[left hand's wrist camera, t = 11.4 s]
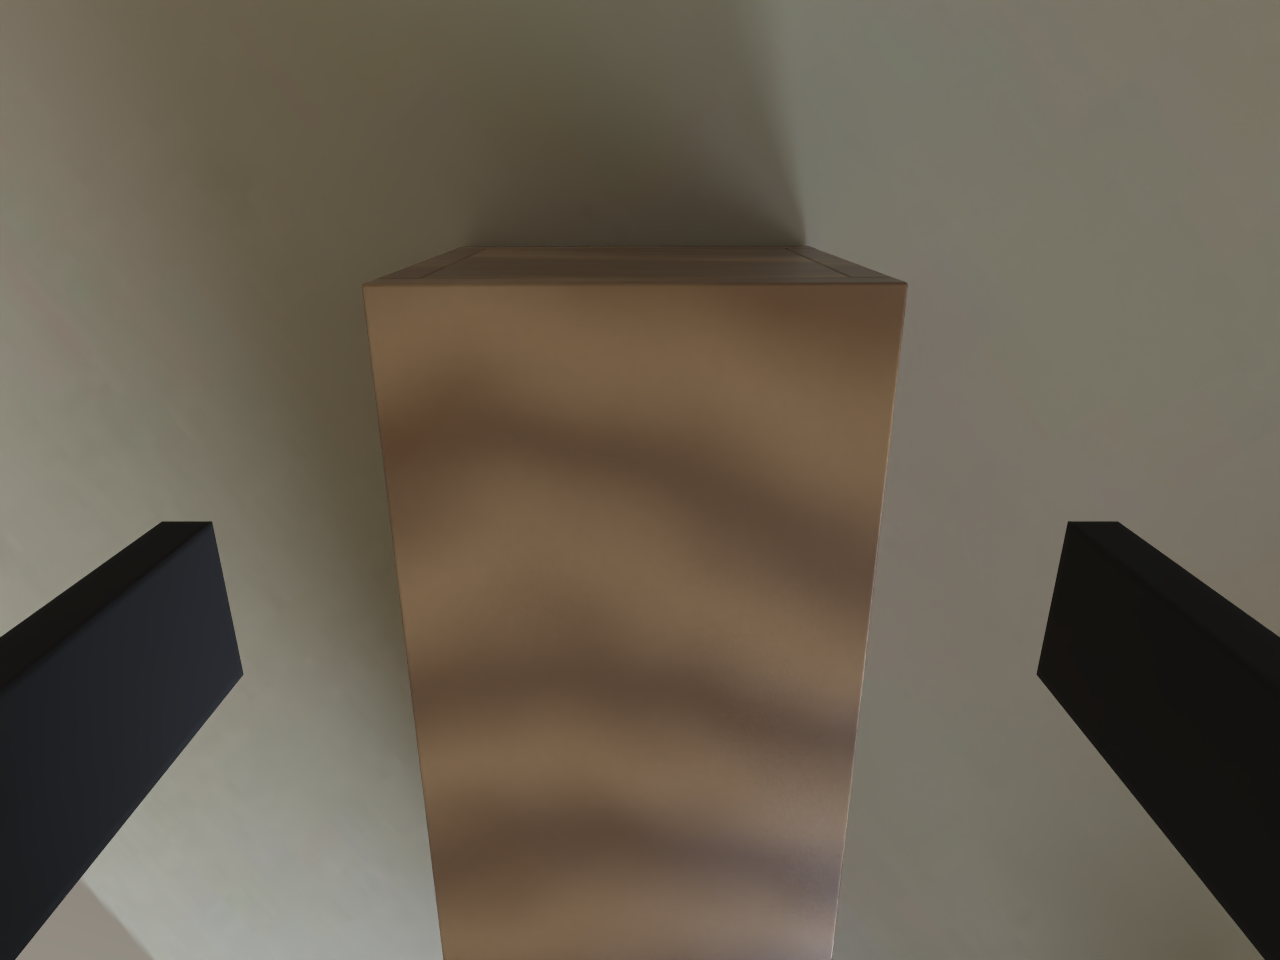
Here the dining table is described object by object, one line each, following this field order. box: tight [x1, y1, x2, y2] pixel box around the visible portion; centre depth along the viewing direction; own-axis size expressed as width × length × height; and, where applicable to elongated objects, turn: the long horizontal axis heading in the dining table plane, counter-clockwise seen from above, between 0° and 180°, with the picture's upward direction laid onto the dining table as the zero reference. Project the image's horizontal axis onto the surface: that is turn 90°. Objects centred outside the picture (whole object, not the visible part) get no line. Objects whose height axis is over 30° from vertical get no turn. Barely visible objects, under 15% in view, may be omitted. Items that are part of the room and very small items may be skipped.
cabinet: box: [362, 246, 908, 960], centre depth 24 cm, size 20×11×10 cm, turn 0°
